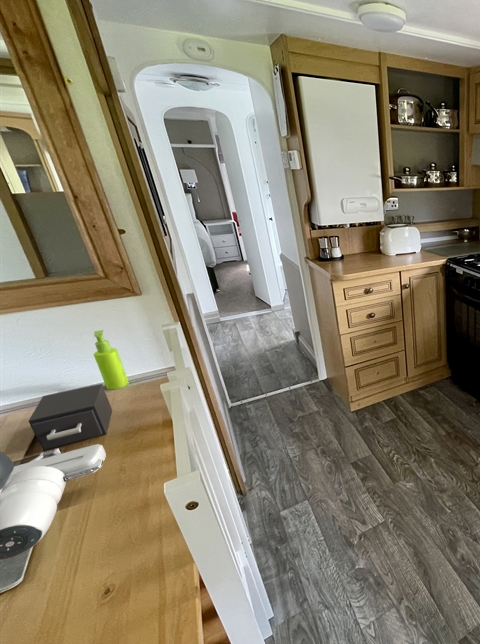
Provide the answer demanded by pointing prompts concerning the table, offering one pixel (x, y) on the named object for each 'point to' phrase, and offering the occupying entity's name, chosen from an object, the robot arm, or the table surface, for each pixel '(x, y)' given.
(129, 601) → the table surface
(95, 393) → the cabinet
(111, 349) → the soap dispenser
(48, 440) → the drawer
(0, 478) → the robot arm
